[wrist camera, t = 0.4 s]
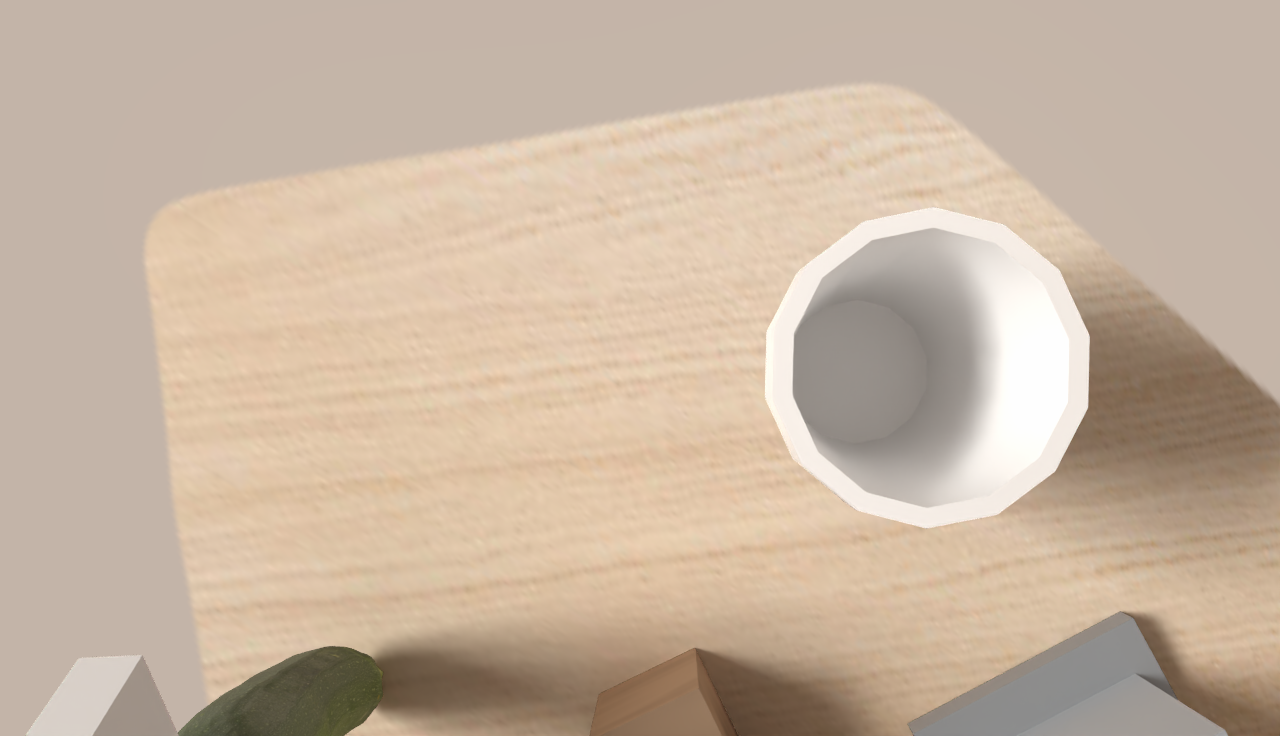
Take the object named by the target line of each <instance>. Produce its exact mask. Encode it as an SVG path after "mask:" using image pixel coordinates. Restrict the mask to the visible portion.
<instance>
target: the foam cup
mask: <svg viewBox="0 0 1280 736" xmlns="http://www.w3.org/2000/svg"><path fill="white" fill-rule="evenodd" d="M1089 343H1090V335H1089V333H1088V331H1087V329H1086V327H1085V325H1084V322H1083V320H1082V318H1081V316H1080V314H1079V312H1078V309H1077V307H1076V305H1075V303H1074V301H1073V299H1072V296H1071V294H1070V292H1069V290H1068V288H1067V285H1066V283H1065V281H1064V279H1063V277H1062V275H1061V272H1060V270H1058V269H1057V268H1056V267H1055V266H1054V265H1052V264H1051V263H1050V262H1049V261H1048V260H1046V259H1045V258H1044V257H1043V256H1041V255H1040V254H1039V253H1038V252H1037V251H1035V250H1034V249H1033V248H1032V247H1031V246H1029V245H1028V244H1027V243H1026V242H1025V241H1023V240H1022V239H1021V238H1020V237H1018V236H1017V235H1016V234H1015V233H1014V232H1012V231H1011V230H1010V229H1009V228H1008V227H1006V226H1005V225H1004V224H1000V223H996V222H992V221H988V220H984V219H980V218H976V217H972V216H968V215H964V214H960V213H956V212H952V211H948V210H944V209H940V208H936V207H932V208H927V209H922V210H917V211H913V212H908V213H903V214H898V215H893V216H888V217H883V218H878V219H873V220H868V221H864V222H862V223H861V224H860V225H858V226H857V227H856V228H854V229H853V230H852V231H850V232H849V233H848V234H846V235H845V236H844V237H842V238H841V239H840V240H838V241H837V242H836V243H834V244H833V245H832V246H830V247H829V248H828V249H827V250H825V251H824V252H823V253H821V254H820V255H819V256H817V257H816V258H815V259H813V260H812V261H811V262H809V263H808V264H807V265H805V266H804V267H803V268H802V269H801V270H800V271H798V272H797V274H796V276H795V278H794V280H793V281H792V283H791V285H790V287H789V289H788V291H787V293H786V295H785V297H784V299H783V301H782V303H781V305H780V307H779V309H778V311H777V313H776V314H775V316H774V318H773V320H772V322H771V324H770V326H769V328H768V330H767V339H766V378H765V399H766V401H767V403H768V406H769V408H770V410H771V412H772V414H773V417H774V419H775V421H776V423H777V425H778V428H779V430H780V432H781V434H782V437H783V439H784V441H785V443H786V445H787V448H788V450H789V452H790V454H791V456H792V458H793V459H794V460H795V461H796V462H797V463H799V464H800V465H801V466H802V467H803V468H804V469H806V470H807V471H808V472H809V473H810V474H812V475H813V476H814V477H815V478H816V479H818V480H819V481H820V482H821V483H822V484H823V485H825V486H826V487H827V488H828V489H829V490H831V491H832V492H833V493H834V494H835V495H837V496H838V497H839V498H840V499H841V500H843V501H844V502H845V503H847V504H848V505H850V506H851V507H852V508H854V509H855V510H857V511H861V512H865V513H869V514H872V515H876V516H880V517H884V518H888V519H892V520H896V521H900V522H903V523H907V524H911V525H915V526H919V527H923V528H932V527H937V526H942V525H947V524H952V523H957V522H962V521H968V520H973V519H978V518H983V517H988V516H993V515H998V514H999V513H1000V512H1002V511H1003V510H1004V509H1006V508H1007V507H1008V506H1010V505H1011V504H1012V503H1014V502H1015V501H1016V500H1018V499H1019V498H1020V497H1022V496H1023V495H1024V494H1026V493H1027V492H1028V491H1030V490H1031V489H1032V488H1034V487H1035V486H1036V485H1038V484H1039V483H1040V482H1042V481H1043V480H1044V479H1046V478H1047V477H1048V476H1050V475H1051V474H1052V473H1054V472H1055V471H1056V469H1057V467H1058V465H1059V463H1060V461H1061V459H1062V457H1063V455H1064V453H1065V451H1066V450H1067V448H1068V446H1069V444H1070V442H1071V440H1072V438H1073V436H1074V434H1075V432H1076V430H1077V428H1078V426H1079V424H1080V422H1081V420H1082V418H1083V417H1084V415H1085V413H1086V411H1087V409H1088V390H1089Z"/></svg>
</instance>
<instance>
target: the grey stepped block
mask: <svg viewBox="0 0 1280 736" xmlns="http://www.w3.org/2000/svg"><path fill="white" fill-rule="evenodd" d="M908 726H909V728H910V730H911V732H912V733H913V735H914V736H1228V735H1227V733H1226V731H1225V730H1224V729H1223V728H1221V727H1220V726H1218V725H1216V724H1215V723H1213V722H1212V721H1210V720H1208V719H1207V718H1205V717H1204V716H1202V715H1200V714H1199V713H1197V712H1196V711H1194V710H1193V709H1191V708H1189V707H1188V706H1186V705H1185V704H1183V703H1181V702H1180V701H1178V699H1177V697H1176V695H1175V694H1174V692H1173V690H1172V688H1171V686H1170V684H1169V683H1168V681H1167V679H1166V677H1165V675H1164V673H1163V672H1162V670H1161V668H1160V666H1159V664H1158V663H1157V661H1156V659H1155V657H1154V655H1153V653H1152V652H1151V650H1150V648H1149V646H1148V644H1147V642H1146V641H1145V639H1144V637H1143V635H1142V633H1141V631H1140V630H1139V628H1138V626H1137V624H1136V622H1135V620H1134V619H1133V618H1132V617H1130V616H1128V615H1126V614H1124V613H1122V612H1118V613H1116V614H1115V615H1113V616H1111V617H1109V618H1107V619H1105V620H1103V621H1101V622H1099V623H1098V624H1096V625H1094V626H1092V627H1090V628H1088V629H1086V630H1084V631H1082V632H1080V633H1079V634H1077V635H1075V636H1073V637H1071V638H1069V639H1067V640H1065V641H1063V642H1061V643H1060V644H1058V645H1056V646H1054V647H1052V648H1050V649H1048V650H1046V651H1044V652H1042V653H1041V654H1039V655H1037V656H1035V657H1033V658H1031V659H1029V660H1027V661H1025V662H1024V663H1022V664H1020V665H1018V666H1016V667H1014V668H1012V669H1010V670H1008V671H1006V672H1005V673H1003V674H1001V675H999V676H997V677H995V678H993V679H991V680H989V681H987V682H986V683H984V684H982V685H980V686H978V687H976V688H974V689H972V690H970V691H969V692H967V693H965V694H963V695H961V696H959V697H957V698H955V699H953V700H951V701H950V702H948V703H946V704H944V705H942V706H940V707H938V708H936V709H934V710H932V711H931V712H929V713H927V714H925V715H923V716H921V717H919V718H917V719H915V720H914V721H912V722H910V723H908Z"/></svg>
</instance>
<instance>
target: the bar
mask: <svg viewBox="0 0 1280 736" xmlns="http://www.w3.org/2000/svg"><path fill="white" fill-rule="evenodd" d="M590 736H738V735H737V733H736V731H735V729H734V727H733V725H732V723H731V720H730V718H729V716H728V714H727V712H726V710H725V708H724V706H723V704H722V702H721V700H720V698H719V696H718V694H717V692H716V690H715V688H714V686H713V684H712V681H711V679H710V677H709V675H708V673H707V671H706V669H705V667H704V665H703V663H702V661H701V659H700V657H699V655H698V653H697V651H696V649H695V648H693V649H691V650H689V651H687V652H685V653H683V654H681V655H679V656H677V657H675V658H673V659H670V660H668V661H666V662H664V663H662V664H660V665H658V666H656V667H654V668H652V669H650V670H648V671H646V672H644V673H642V674H639V675H637V676H635V677H633V678H631V679H629V680H627V681H625V682H623V683H621V684H619V685H617V686H615V687H613V688H611V689H608V690H606V691H604V692H602V693H600V694H599V697H598V701H597V705H596V710H595V714H594V718H593V723H592V727H591V732H590Z"/></svg>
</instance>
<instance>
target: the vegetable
mask: <svg viewBox="0 0 1280 736" xmlns="http://www.w3.org/2000/svg"><path fill="white" fill-rule="evenodd" d="M382 676H383V672H382V671H381V670H380V669H379V668H378V667H377V665H376V663H375V661H374V660H373V659H372V658H371V657H370V656H369V655H367V654H364V653H361V652H359V651H357V650H354V649H352V648H347V647H336V646H329V647H323V648H319V649H315V650H311V651H308V652H304V653H301V654H297V655H294V656H292V657H290V658H288V659H286V660H284V661H283V662H281V663H279V664H277V665H275V666H273V667H271V668H269V669H267V670H265V671H262V672H260V673H258V674H256V675H255V676H253V677H251V678H250V679H248V680H247V681H245V682H244V683H242V684H241V685H239V686H238V687H236V688H234V689H232V690H230V691H228V692H227V693H225V694H223V695H222V696H221V697H219V698H218V699H217V700H215V701H214V702H212V703H211V704H210V705H208V706H207V707H206V708H204V709H203V710H202V711H200V712H199V713H197V714H196V715H195V716H194V717H193V718H192V719H191V720H190V721H189V722H188V723H187V724H186V725H185V726H184V727H183V728H182V729H181V730H180V731H179V732H178V735H179V736H344V735H345V734H347V733H348V732H349V731H351V730H352V729H354V728H355V727H357V726H359V725H361V724H362V723H364V721H365V720H366V719H367V718H368V717H369V715H370V714H371V713H372V712H373V710H374V709H375V708H376V707H377V705H378V703H379V702H380V700H381V699H382V696H383V691H382Z"/></svg>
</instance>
